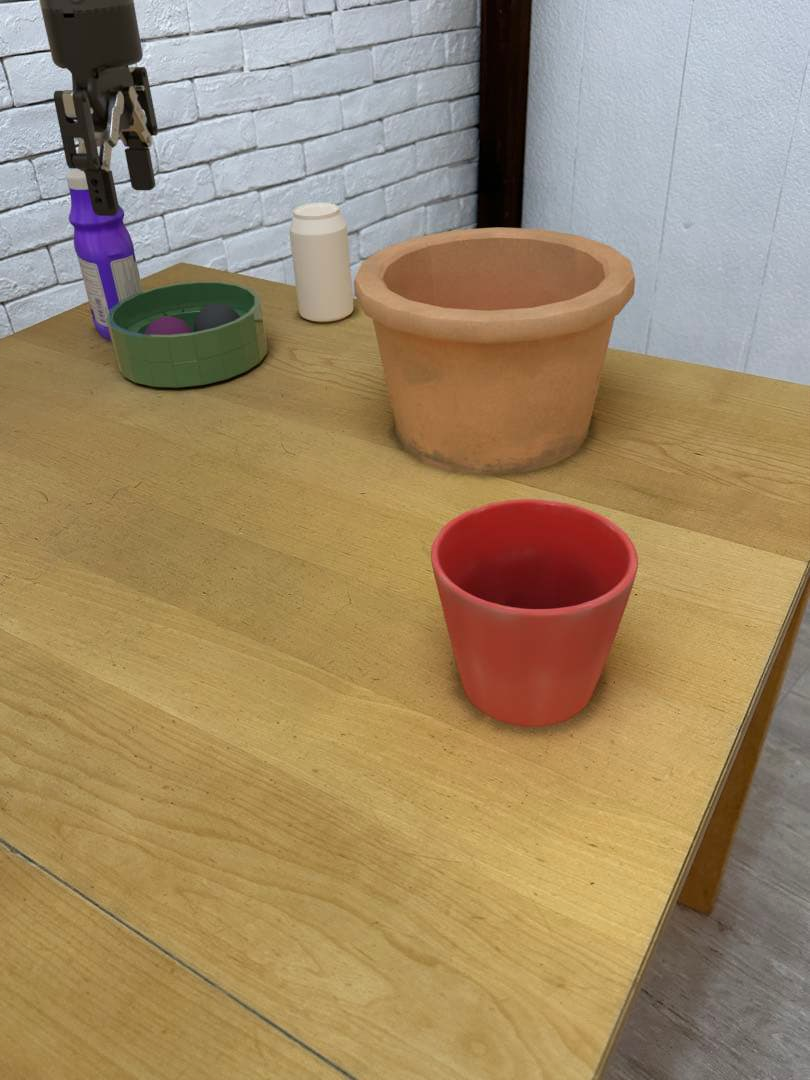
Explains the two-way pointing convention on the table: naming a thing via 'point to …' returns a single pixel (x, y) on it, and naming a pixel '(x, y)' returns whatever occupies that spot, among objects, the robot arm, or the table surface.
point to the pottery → (494, 342)
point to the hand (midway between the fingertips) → (126, 201)
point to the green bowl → (187, 335)
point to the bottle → (101, 253)
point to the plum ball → (167, 326)
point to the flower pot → (532, 604)
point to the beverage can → (321, 262)
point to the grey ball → (214, 317)
